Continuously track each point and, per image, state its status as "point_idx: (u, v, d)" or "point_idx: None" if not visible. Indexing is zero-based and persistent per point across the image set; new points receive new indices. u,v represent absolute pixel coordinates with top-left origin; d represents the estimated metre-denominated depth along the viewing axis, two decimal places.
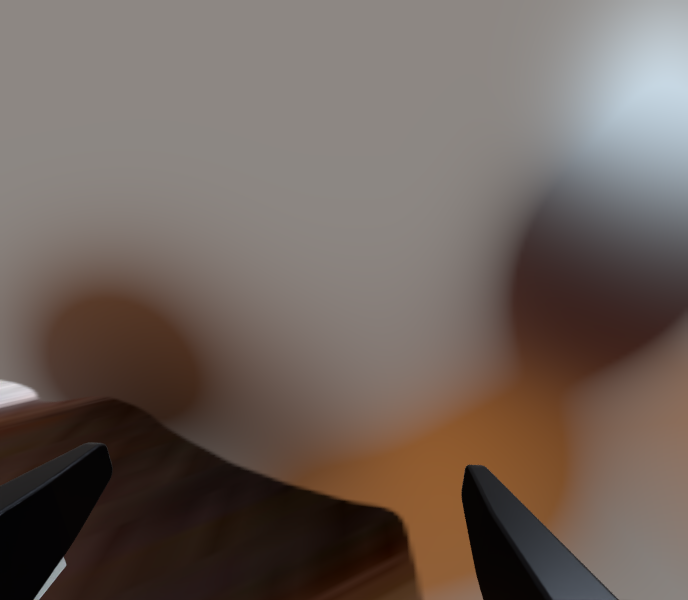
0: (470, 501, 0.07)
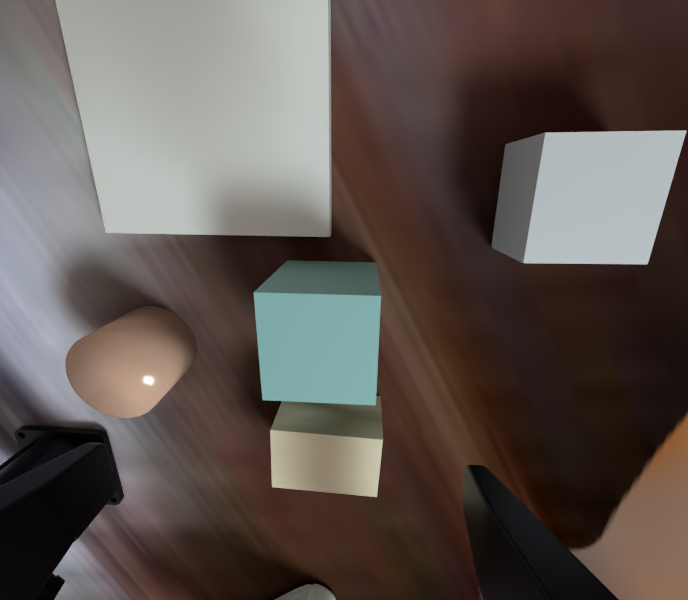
0: (470, 501, 0.07)
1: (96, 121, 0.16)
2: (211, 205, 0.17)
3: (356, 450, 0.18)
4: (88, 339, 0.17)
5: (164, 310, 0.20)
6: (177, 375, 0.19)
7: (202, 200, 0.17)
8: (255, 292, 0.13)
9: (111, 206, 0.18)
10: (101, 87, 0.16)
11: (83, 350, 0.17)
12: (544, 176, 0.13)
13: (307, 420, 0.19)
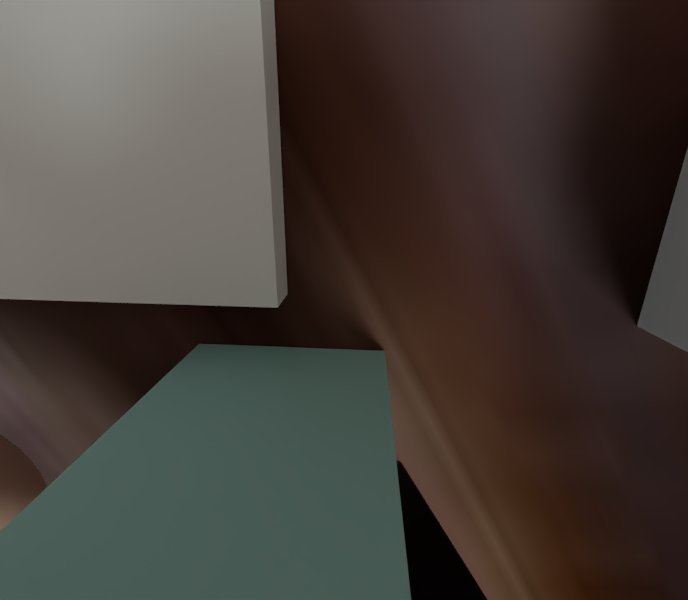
0: None
1: None
2: (3, 235, 0.07)
3: None
4: None
5: None
6: None
7: None
8: None
9: None
10: None
11: None
12: None
13: None
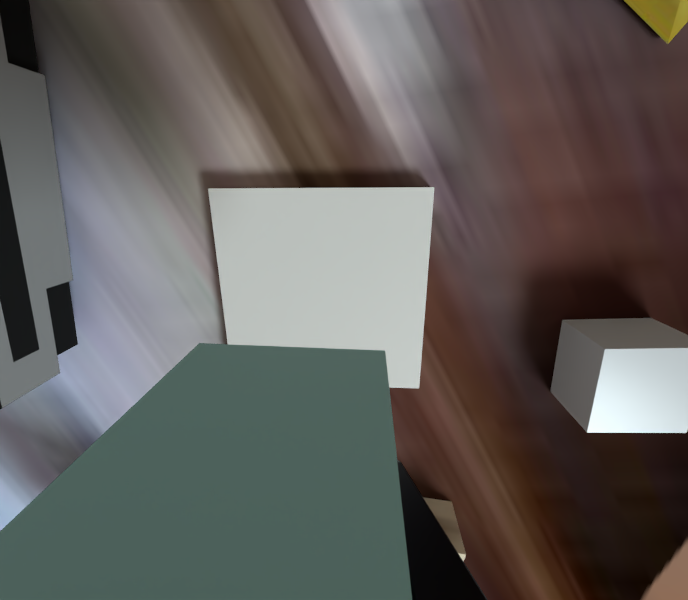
0: None
1: (235, 305, 0.20)
2: None
3: None
4: None
5: None
6: None
7: None
8: None
9: None
10: (242, 283, 0.20)
11: None
12: (604, 376, 0.17)
13: None
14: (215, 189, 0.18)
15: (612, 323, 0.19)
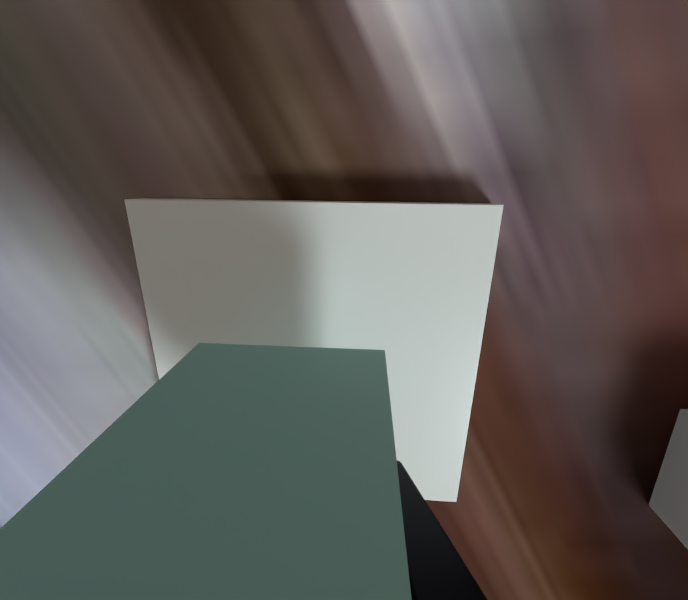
0: None
1: None
2: None
3: None
4: None
5: None
6: None
7: None
8: None
9: None
10: (186, 346, 0.13)
11: None
12: None
13: None
14: (136, 201, 0.11)
15: None
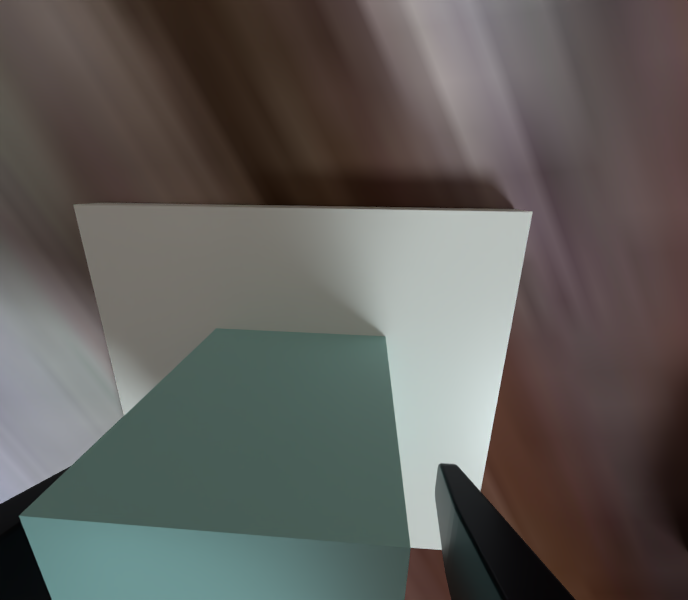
0: (441, 499, 0.08)
1: None
2: None
3: None
4: None
5: None
6: None
7: None
8: (26, 514, 0.04)
9: None
10: (154, 377, 0.11)
11: None
12: None
13: None
14: (87, 206, 0.09)
15: None
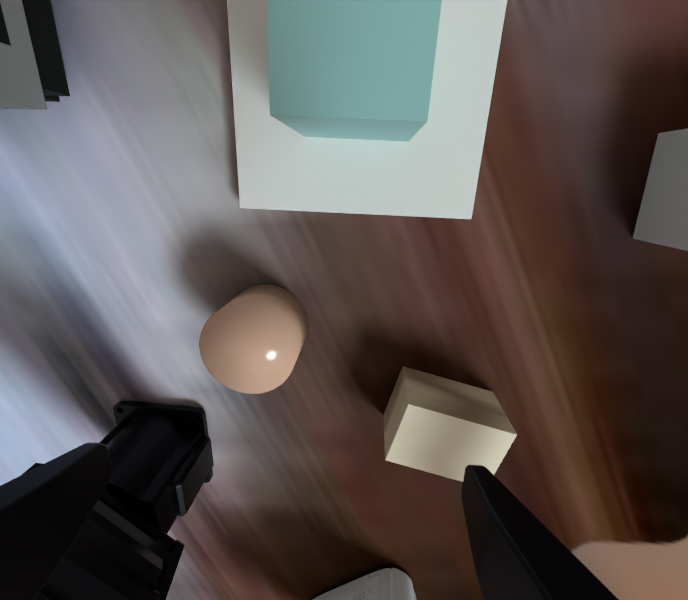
0: (470, 501, 0.07)
1: (248, 92, 0.16)
2: (353, 183, 0.17)
3: (486, 440, 0.18)
4: (260, 311, 0.17)
5: (302, 307, 0.20)
6: None
7: (344, 177, 0.17)
8: None
9: (250, 181, 0.17)
10: (258, 57, 0.15)
11: (245, 315, 0.17)
12: None
13: (437, 401, 0.19)
14: None
15: None
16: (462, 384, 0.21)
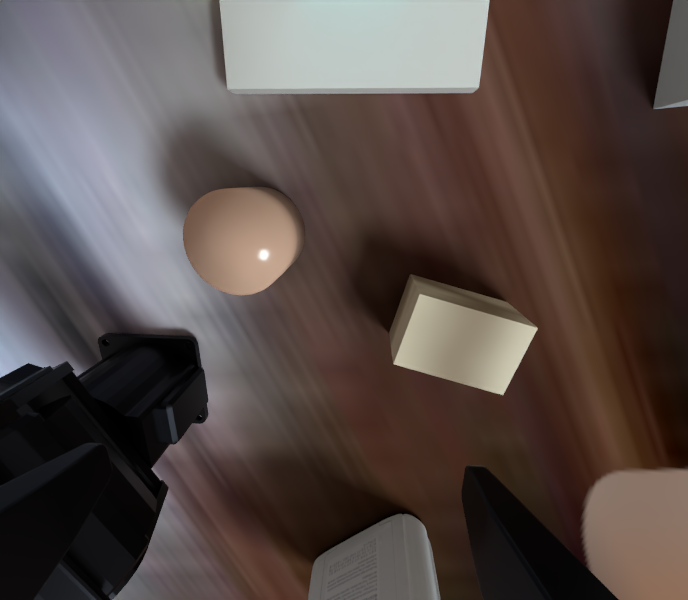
0: (470, 501, 0.07)
1: None
2: (350, 51, 0.16)
3: (504, 336, 0.17)
4: (253, 199, 0.15)
5: (301, 217, 0.19)
6: None
7: (340, 45, 0.16)
8: None
9: (237, 55, 0.16)
10: None
11: (236, 202, 0.15)
12: None
13: (450, 297, 0.17)
14: None
15: None
16: (474, 293, 0.20)
